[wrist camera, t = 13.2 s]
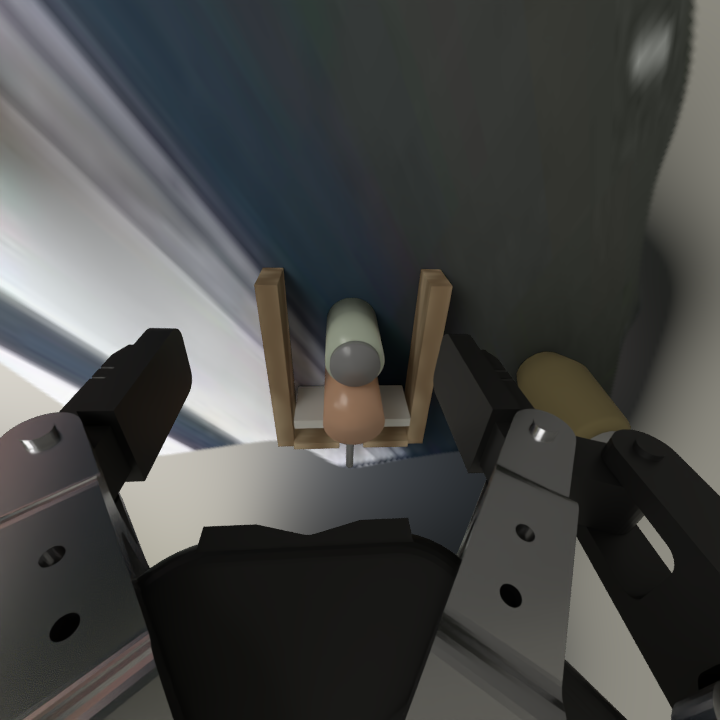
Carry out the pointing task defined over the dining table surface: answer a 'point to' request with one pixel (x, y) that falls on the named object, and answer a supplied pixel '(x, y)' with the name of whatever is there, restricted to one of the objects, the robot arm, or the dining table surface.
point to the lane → (419, 372)
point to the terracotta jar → (352, 411)
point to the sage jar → (353, 343)
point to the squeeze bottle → (570, 395)
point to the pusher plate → (313, 407)
